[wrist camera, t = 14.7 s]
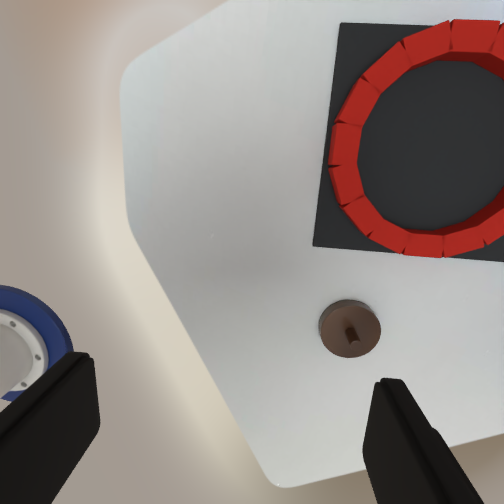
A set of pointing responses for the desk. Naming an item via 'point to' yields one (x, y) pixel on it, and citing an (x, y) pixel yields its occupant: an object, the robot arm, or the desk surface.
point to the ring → (361, 104)
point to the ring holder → (349, 329)
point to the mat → (416, 143)
